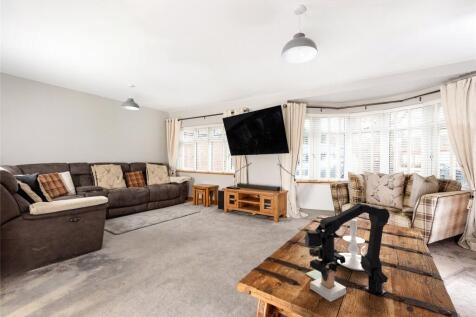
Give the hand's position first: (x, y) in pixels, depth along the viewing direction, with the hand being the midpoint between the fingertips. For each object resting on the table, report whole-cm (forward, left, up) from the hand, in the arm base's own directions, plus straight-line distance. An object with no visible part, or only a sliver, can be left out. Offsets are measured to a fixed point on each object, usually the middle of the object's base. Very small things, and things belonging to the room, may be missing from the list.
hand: (327, 279), depth 98 cm
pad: (-7, -11, -5) cm, 14 cm away
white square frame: (0, 0, -5) cm, 5 cm away
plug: (0, 0, -5) cm, 5 cm away
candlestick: (-36, -8, -6) cm, 37 cm away
